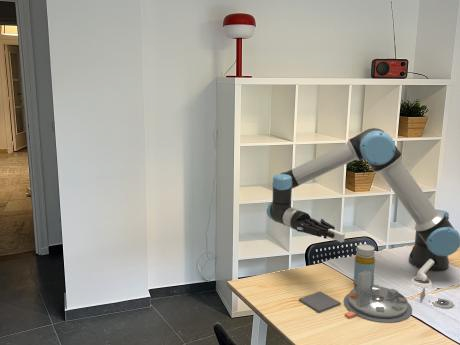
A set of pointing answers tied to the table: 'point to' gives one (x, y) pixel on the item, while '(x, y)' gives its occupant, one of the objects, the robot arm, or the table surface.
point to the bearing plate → (391, 320)
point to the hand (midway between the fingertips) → (342, 238)
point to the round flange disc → (376, 299)
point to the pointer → (350, 315)
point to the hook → (423, 275)
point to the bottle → (364, 261)
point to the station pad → (319, 302)
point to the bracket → (438, 303)
